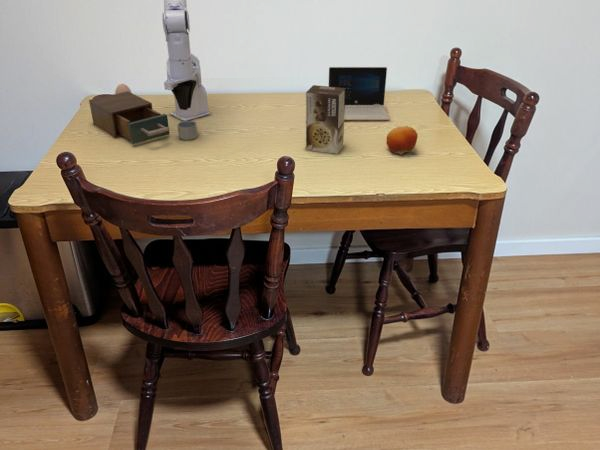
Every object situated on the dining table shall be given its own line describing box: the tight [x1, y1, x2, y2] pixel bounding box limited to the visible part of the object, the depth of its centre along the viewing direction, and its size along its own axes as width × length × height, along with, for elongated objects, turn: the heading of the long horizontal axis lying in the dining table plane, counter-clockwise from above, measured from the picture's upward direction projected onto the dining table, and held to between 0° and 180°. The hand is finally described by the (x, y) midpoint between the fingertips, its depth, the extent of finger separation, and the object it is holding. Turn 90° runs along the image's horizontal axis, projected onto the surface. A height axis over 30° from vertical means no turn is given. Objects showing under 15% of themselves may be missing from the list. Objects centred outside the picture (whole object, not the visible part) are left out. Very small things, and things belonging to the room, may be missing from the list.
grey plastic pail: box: [176, 120, 199, 141], centre depth 157 cm, size 5×5×4 cm
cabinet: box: [88, 91, 153, 139], centre depth 163 cm, size 14×12×7 cm
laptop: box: [328, 66, 390, 122], centre depth 171 cm, size 18×12×13 cm
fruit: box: [386, 125, 418, 156], centre depth 148 cm, size 8×8×8 cm
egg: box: [114, 83, 132, 94], centre depth 179 cm, size 5×5×7 cm
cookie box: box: [305, 84, 346, 155], centre depth 147 cm, size 9×6×16 cm
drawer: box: [114, 107, 170, 145], centre depth 155 cm, size 18×11×6 cm, turn 42°
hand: (185, 108), depth 153 cm, fingers closed
